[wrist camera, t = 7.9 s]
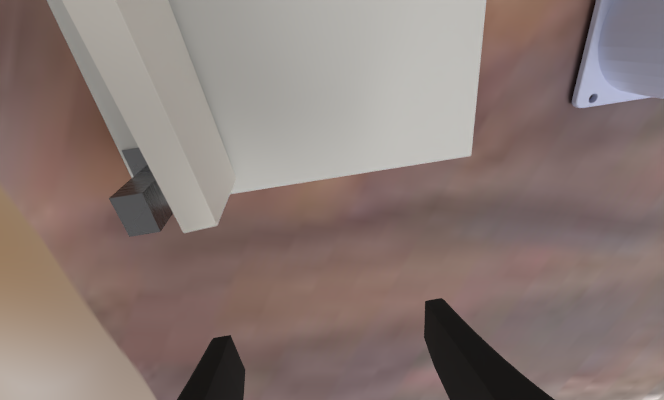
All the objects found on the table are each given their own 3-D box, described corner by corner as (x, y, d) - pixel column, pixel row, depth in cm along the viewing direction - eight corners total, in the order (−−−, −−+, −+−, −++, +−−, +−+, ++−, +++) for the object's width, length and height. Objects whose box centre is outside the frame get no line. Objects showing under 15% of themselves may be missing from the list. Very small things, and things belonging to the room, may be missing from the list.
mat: (512, -327, 11) (519, -338, 11) (467, 153, 20) (471, 155, 19) (-73, -266, 10) (-87, -277, 10) (148, 204, 19) (145, 207, 19)
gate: (-13, -270, 10) (-419, -670, 4) (85, -291, 10) (-189, -719, 4) (196, 187, 18) (151, 257, 12) (250, 175, 18) (230, 240, 12)
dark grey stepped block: (184, 138, 17) (146, 174, 13) (204, 195, 19) (177, 243, 15) (125, 147, 17) (67, 186, 13) (152, 203, 19) (108, 255, 14)
